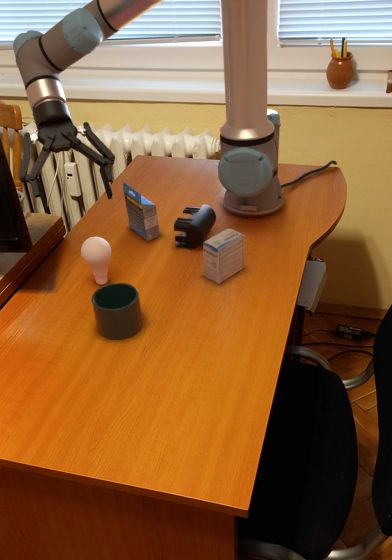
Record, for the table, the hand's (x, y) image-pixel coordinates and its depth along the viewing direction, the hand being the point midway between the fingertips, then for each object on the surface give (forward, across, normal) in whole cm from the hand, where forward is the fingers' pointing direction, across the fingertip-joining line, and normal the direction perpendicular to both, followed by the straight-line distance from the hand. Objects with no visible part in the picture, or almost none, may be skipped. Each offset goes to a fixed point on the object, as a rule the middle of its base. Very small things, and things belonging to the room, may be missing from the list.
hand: (79, 203), depth 116 cm
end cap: (+11, -25, -9) cm, 29 cm away
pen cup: (+28, 0, +8) cm, 29 cm away
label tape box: (+5, -15, -16) cm, 22 cm away
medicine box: (+23, -25, +2) cm, 34 cm away
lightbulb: (+17, 0, -4) cm, 17 cm away
